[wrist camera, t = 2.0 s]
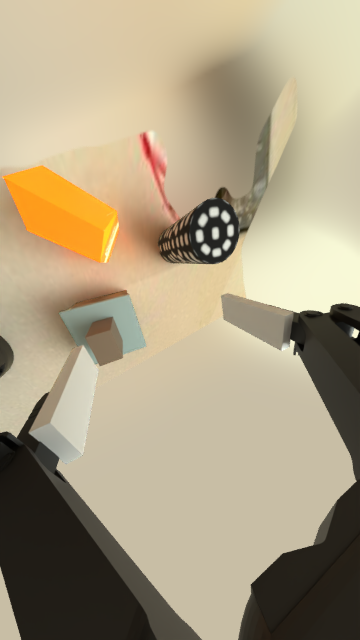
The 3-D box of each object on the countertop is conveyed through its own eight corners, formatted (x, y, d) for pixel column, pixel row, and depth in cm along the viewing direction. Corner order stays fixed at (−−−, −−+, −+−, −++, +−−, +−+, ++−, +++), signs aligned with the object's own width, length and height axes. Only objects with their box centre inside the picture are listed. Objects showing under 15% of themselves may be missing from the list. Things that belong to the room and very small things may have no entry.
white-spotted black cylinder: (190, 259, 42) (239, 258, 24) (162, 265, 40) (193, 269, 22) (185, 225, 38) (239, 195, 21) (154, 230, 36) (184, 201, 19)
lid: (90, 363, 34) (81, 390, 27) (61, 311, 29) (40, 327, 21) (145, 343, 37) (151, 363, 30) (128, 293, 32) (130, 303, 25)
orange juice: (108, 262, 35) (94, 263, 18) (64, 243, 32) (-9, 219, 14) (119, 229, 34) (116, 195, 16) (75, 204, 30) (8, 125, 13)
